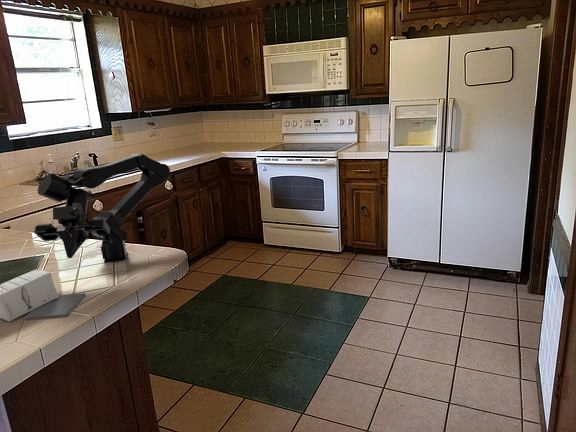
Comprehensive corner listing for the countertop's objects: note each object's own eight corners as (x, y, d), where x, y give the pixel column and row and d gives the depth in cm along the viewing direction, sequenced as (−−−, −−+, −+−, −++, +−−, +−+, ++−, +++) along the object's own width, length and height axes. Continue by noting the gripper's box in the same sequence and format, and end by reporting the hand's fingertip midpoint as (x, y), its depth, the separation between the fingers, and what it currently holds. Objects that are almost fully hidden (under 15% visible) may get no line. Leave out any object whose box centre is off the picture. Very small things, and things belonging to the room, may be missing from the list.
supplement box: (60, 297, 114) (9, 323, 104) (45, 292, 118) (-5, 316, 108) (51, 271, 111) (-2, 295, 102) (36, 267, 115) (-16, 290, 106)
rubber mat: (47, 298, 116) (46, 296, 116) (85, 295, 116) (85, 293, 116) (25, 319, 105) (24, 317, 105) (67, 316, 105) (66, 313, 105)
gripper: (28, 196, 120) (18, 249, 112) (98, 190, 121) (92, 242, 113) (48, 216, 130) (40, 265, 122) (112, 209, 130) (108, 258, 123)
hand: (69, 257), depth 120 cm, fingers closed
